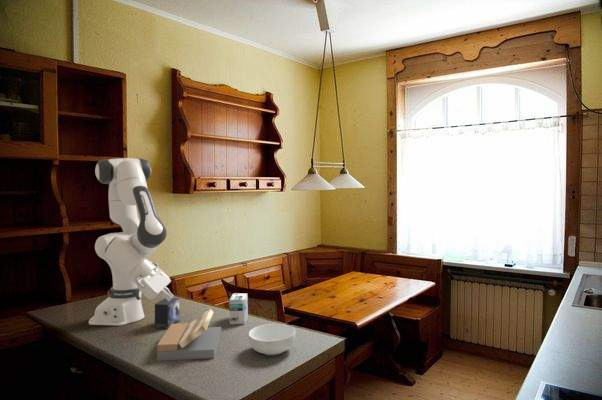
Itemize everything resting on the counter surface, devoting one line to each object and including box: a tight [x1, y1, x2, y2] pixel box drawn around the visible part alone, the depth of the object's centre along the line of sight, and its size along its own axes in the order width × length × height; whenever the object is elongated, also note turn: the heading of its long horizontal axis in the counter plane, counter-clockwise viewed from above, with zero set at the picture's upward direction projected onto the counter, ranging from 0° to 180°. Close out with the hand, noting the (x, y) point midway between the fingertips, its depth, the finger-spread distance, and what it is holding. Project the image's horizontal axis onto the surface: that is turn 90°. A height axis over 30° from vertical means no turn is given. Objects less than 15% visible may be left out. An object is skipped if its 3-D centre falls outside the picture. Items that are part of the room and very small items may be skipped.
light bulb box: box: [228, 292, 249, 325], centre depth 175 cm, size 11×7×11 cm, turn 0°
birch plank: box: [179, 308, 214, 348], centre depth 147 cm, size 10×20×2 cm
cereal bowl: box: [248, 323, 297, 356], centre depth 143 cm, size 17×17×7 cm
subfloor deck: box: [156, 322, 222, 362], centre depth 147 cm, size 19×22×5 cm
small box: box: [154, 297, 181, 330], centre depth 171 cm, size 11×6×10 cm, turn 168°
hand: (171, 298), depth 146 cm, fingers closed
